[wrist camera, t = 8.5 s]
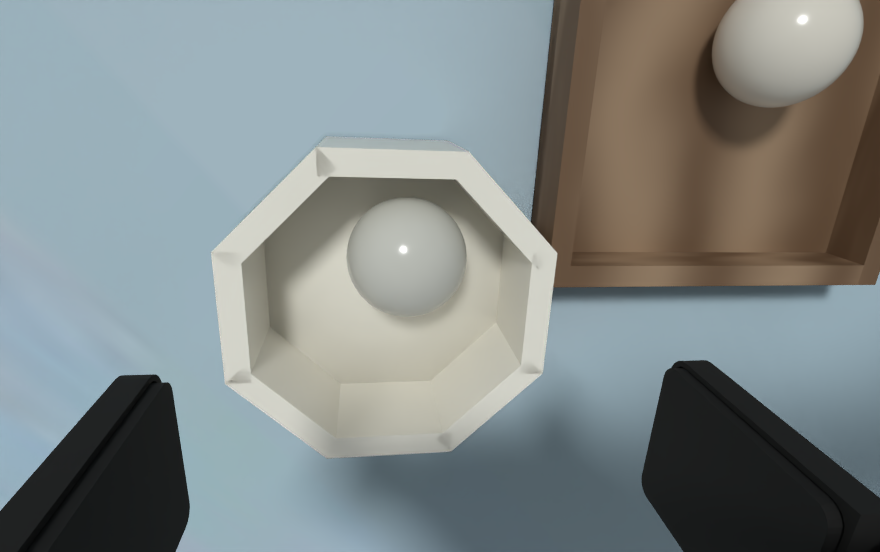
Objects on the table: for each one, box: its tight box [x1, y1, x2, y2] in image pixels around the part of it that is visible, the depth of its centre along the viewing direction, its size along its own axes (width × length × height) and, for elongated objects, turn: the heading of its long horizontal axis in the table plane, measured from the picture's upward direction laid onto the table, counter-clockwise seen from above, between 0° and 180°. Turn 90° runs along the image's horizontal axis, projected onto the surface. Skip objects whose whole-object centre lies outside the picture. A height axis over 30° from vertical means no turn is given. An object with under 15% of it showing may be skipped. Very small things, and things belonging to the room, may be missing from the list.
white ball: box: [346, 197, 467, 317], centre depth 21 cm, size 5×5×5 cm
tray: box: [531, 0, 880, 287], centre depth 22 cm, size 17×21×3 cm
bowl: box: [211, 136, 557, 459], centre depth 22 cm, size 13×13×5 cm
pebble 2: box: [712, 0, 864, 108], centre depth 20 cm, size 5×5×5 cm
